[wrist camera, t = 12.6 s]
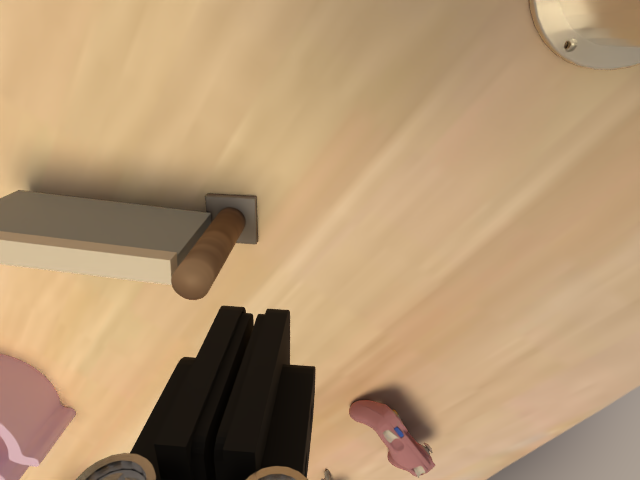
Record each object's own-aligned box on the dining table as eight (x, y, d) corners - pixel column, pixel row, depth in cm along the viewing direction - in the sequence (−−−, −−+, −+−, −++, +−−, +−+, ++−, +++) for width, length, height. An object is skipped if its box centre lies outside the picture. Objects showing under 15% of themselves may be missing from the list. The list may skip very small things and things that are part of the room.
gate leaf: (210, 210, 38) (170, 260, 29) (211, 230, 38) (171, 285, 30) (18, 187, 38) (-78, 230, 29) (22, 208, 39) (-69, 255, 30)
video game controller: (416, 432, 51) (451, 471, 45) (388, 459, 51) (419, 502, 44) (373, 378, 48) (403, 412, 42) (342, 406, 48) (368, 445, 41)
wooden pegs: (207, 193, 38) (153, 252, 28) (256, 196, 38) (220, 256, 28) (225, 402, 49) (191, 500, 39) (263, 405, 49) (239, 504, 39)
